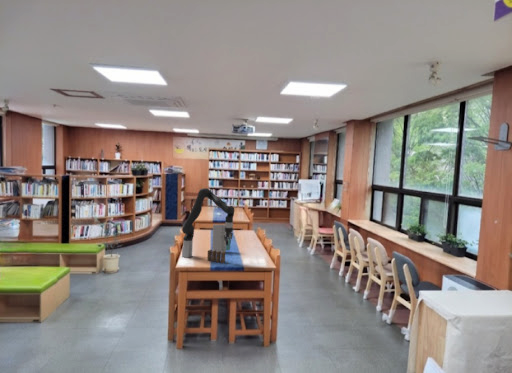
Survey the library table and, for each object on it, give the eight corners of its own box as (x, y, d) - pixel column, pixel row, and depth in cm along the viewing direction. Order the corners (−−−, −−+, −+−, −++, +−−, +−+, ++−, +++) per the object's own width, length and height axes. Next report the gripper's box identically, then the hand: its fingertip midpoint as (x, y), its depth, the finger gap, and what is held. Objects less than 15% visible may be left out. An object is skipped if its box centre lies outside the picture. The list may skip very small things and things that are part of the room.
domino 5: (225, 250, 298) (226, 240, 298) (228, 249, 303) (228, 239, 302) (227, 250, 298) (228, 240, 297) (230, 249, 302) (230, 239, 302)
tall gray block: (212, 253, 334) (213, 225, 332) (212, 251, 339) (213, 224, 338) (225, 252, 337) (226, 225, 336) (225, 251, 343) (226, 224, 341)
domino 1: (207, 260, 307) (207, 250, 306) (209, 259, 311) (210, 249, 311) (209, 260, 306) (209, 251, 305) (211, 259, 310) (212, 249, 310)
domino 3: (216, 262, 303) (216, 252, 302) (218, 260, 307) (219, 251, 307) (218, 262, 302) (218, 252, 301) (220, 261, 307) (220, 251, 306)
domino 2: (211, 261, 305) (212, 251, 304) (214, 260, 309) (214, 250, 309) (213, 261, 304) (213, 251, 303) (216, 260, 309) (216, 250, 308)
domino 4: (220, 263, 301) (221, 252, 300) (223, 261, 306) (223, 251, 305) (222, 263, 300) (222, 253, 300) (224, 262, 305) (225, 252, 304)
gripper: (228, 225, 307) (228, 242, 308) (221, 227, 294) (221, 245, 295) (235, 226, 304) (234, 243, 305) (229, 228, 291) (228, 246, 292)
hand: (228, 244), depth 300 cm, fingers closed on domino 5, 5 cm apart
